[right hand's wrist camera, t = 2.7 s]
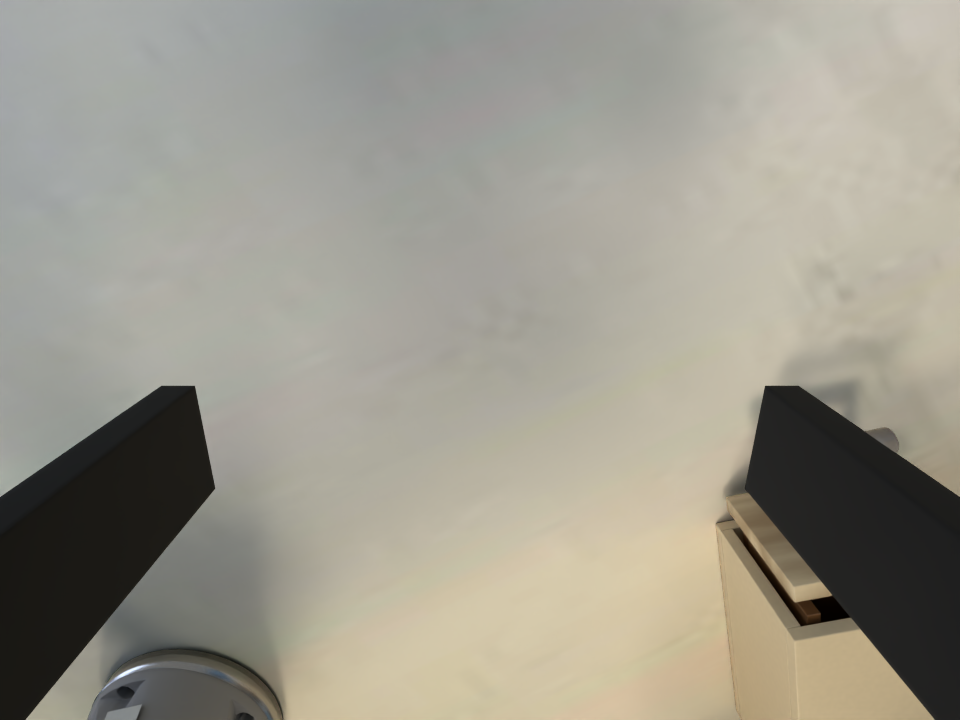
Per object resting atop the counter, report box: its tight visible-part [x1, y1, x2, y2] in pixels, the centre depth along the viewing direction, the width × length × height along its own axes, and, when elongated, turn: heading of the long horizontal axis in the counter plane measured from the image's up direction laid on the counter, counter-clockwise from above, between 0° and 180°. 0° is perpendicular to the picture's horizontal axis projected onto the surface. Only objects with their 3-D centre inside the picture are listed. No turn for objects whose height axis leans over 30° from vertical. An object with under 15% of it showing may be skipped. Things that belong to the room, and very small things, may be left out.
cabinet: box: [716, 520, 935, 720], centre depth 38 cm, size 20×11×11 cm, turn 14°
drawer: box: [726, 427, 899, 626], centre depth 36 cm, size 25×10×9 cm, turn 14°
